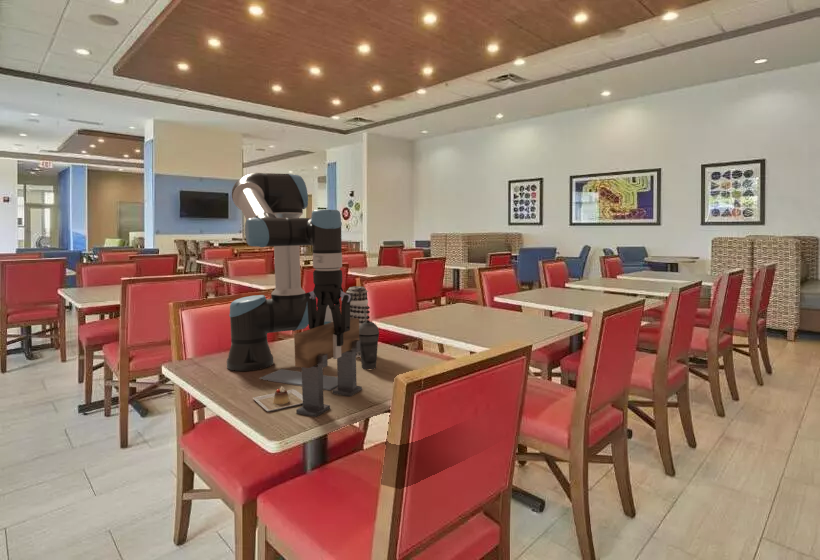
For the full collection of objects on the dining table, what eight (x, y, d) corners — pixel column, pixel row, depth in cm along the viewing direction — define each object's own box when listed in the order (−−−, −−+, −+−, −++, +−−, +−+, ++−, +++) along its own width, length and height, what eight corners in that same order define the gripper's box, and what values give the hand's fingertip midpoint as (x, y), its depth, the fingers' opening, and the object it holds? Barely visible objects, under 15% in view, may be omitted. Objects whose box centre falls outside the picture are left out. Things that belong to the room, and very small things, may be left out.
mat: (259, 379, 149) (259, 377, 149) (281, 370, 158) (281, 369, 158) (330, 390, 138) (330, 388, 138) (349, 380, 147) (349, 378, 147)
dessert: (252, 401, 131) (251, 384, 131) (294, 392, 138) (293, 376, 138) (266, 415, 122) (266, 396, 121) (311, 405, 128) (310, 387, 128)
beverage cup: (376, 371, 156) (375, 310, 154) (355, 370, 157) (353, 309, 155) (382, 365, 163) (381, 306, 161) (361, 364, 164) (360, 306, 162)
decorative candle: (341, 353, 179) (340, 286, 176) (365, 350, 183) (364, 285, 180) (350, 359, 171) (348, 289, 168) (374, 356, 175) (373, 287, 172)
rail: (295, 366, 118) (294, 334, 118) (347, 344, 140) (347, 317, 139) (308, 368, 117) (307, 335, 116) (359, 345, 138) (359, 318, 138)
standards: (293, 412, 121) (291, 354, 120) (341, 386, 141) (339, 336, 140) (319, 417, 118) (317, 358, 116) (364, 390, 138) (363, 338, 136)
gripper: (292, 269, 126) (295, 356, 129) (347, 271, 119) (349, 363, 122) (309, 267, 133) (311, 350, 135) (363, 269, 126) (364, 356, 128)
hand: (329, 356), depth 129 cm, fingers closed on rail, 4 cm apart
